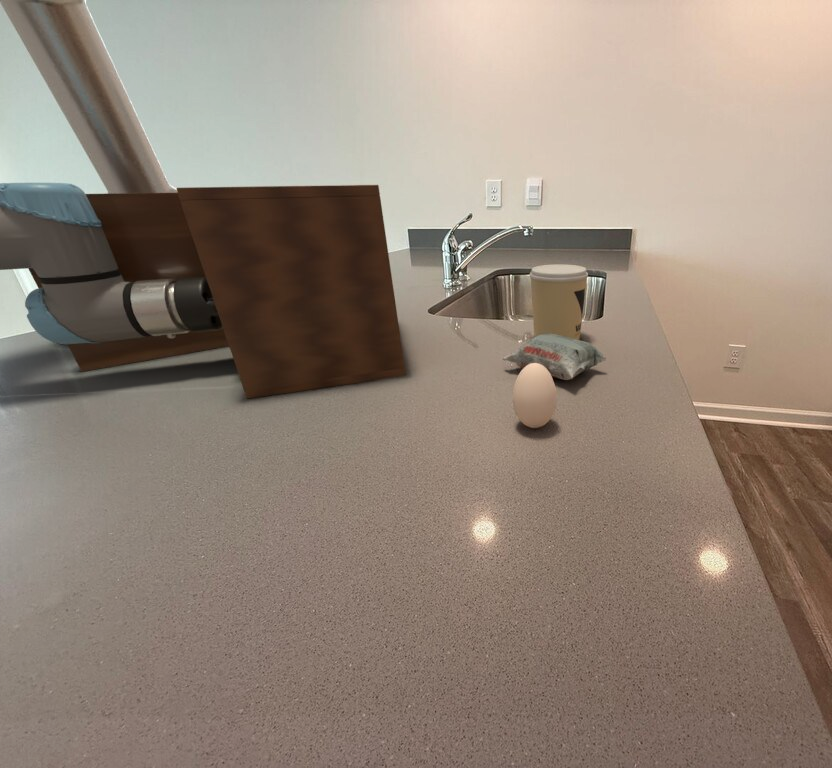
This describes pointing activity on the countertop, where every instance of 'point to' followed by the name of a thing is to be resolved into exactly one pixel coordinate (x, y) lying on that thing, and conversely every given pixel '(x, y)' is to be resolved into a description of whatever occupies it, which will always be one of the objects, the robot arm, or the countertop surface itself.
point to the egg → (534, 396)
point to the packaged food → (557, 355)
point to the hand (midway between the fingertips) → (355, 291)
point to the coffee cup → (558, 299)
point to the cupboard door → (145, 271)
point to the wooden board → (299, 283)
